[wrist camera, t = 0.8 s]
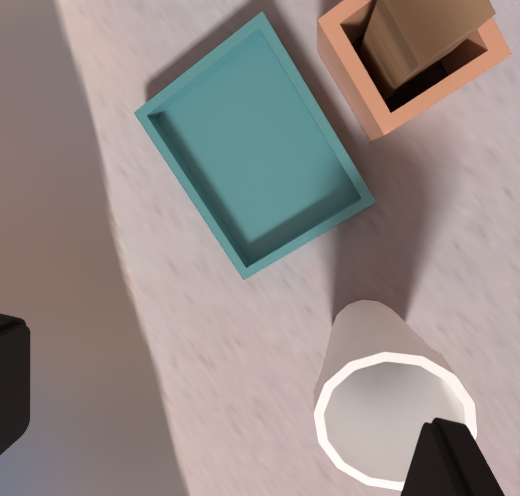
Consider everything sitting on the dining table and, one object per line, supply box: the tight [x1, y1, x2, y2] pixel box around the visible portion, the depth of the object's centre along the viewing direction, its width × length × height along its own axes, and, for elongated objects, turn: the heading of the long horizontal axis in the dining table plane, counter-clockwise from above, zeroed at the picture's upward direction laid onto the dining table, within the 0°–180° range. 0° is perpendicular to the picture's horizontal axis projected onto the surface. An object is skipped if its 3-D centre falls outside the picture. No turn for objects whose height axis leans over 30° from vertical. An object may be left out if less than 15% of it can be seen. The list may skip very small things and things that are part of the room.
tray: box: [134, 11, 376, 280], centre depth 32 cm, size 13×17×2 cm
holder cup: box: [317, 0, 512, 142], centre depth 27 cm, size 8×8×7 cm
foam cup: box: [314, 300, 477, 490], centre depth 29 cm, size 10×9×13 cm
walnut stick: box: [358, 0, 496, 101], centre depth 24 cm, size 4×4×12 cm
